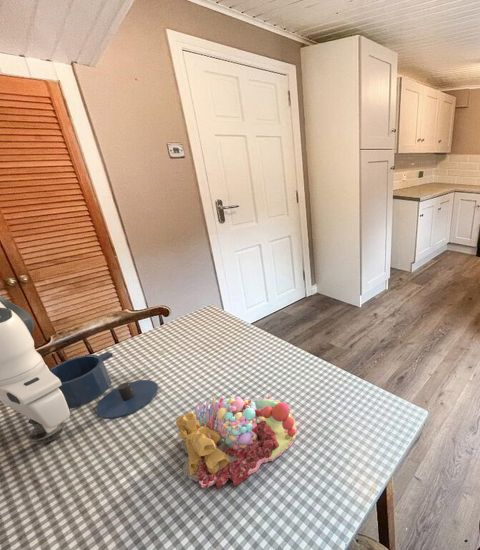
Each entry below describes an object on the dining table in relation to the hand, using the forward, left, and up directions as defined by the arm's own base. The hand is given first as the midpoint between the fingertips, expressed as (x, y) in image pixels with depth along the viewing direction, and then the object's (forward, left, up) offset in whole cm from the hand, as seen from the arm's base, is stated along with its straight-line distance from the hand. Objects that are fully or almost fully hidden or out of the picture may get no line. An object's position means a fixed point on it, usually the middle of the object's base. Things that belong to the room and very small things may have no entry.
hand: (44, 426), depth 70 cm
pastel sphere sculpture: (+41, +17, -5) cm, 45 cm away
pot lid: (+4, +15, -4) cm, 16 cm away
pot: (-11, +12, -4) cm, 17 cm away
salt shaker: (0, 0, -5) cm, 5 cm away
